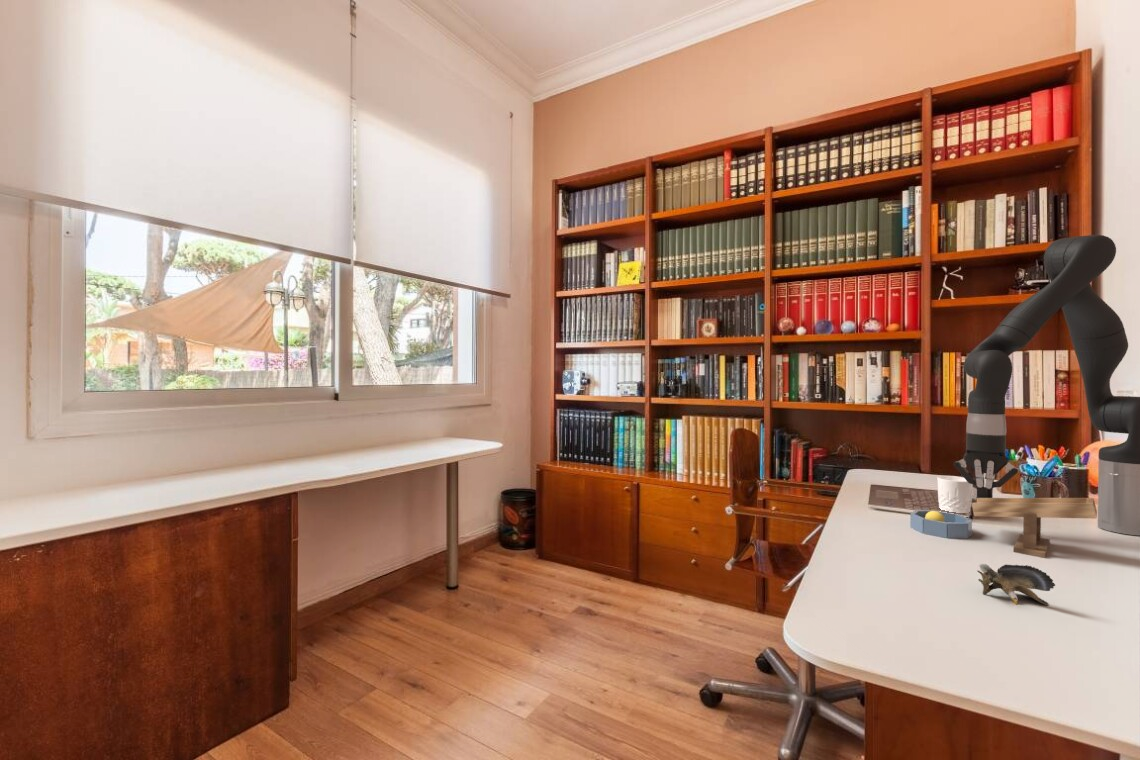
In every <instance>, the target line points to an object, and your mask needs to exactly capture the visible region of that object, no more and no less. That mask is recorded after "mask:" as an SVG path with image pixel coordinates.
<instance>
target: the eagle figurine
mask: <svg viewBox="0 0 1140 760" xmlns="http://www.w3.org/2000/svg"><path fill="white" fill-rule="evenodd" d="M978 565H979V566H978V567H979V569H980V570H976V572H978V573H979V574H980V576H981V578H979V579H977V580H978V582H979V583H981V584H982V587H983V589H982V595H987V594H989V593H991V592H992V591H993V590H997V589H1001V590H1002V591H1003V593H1005V594H1006V595H1007V596H1008V597H1009V598H1010V599H1011V600H1012V602H1013V604H1014V605H1018V602H1019V601H1018V595H1017V594H1016V593H1015V592H1019V593H1021V594H1023V595H1025V596H1028V597H1029V598H1032V599H1033V600H1035V601H1037V602H1039V603H1040V604H1042V605H1044V606H1049V605H1048V604H1049V602H1048V601H1045V600H1044V599H1042V598H1040V597H1039V596H1038V595H1037V594H1036V593H1035V592H1034V591H1033V590H1038V591H1044V592H1050V591H1051V589H1052V590H1053V589H1054V587H1056V584H1055V583H1054V579H1052V578H1051V576H1050V575H1048V574H1047V572H1045V571H1042V570H1040V569H1039V568H1036V567H1034V566H1032V565H1028V564H1027V565H1023V564H1022V565H1019V564H1014V565H1013V564H1004V565H1002V566H1000V567H998V568H997V571H995V569H992V567H990V566H989V564H987V563H980V564H978Z"/></svg>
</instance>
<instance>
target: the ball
mask: <svg viewBox="0 0 1140 760" xmlns="http://www.w3.org/2000/svg"><path fill="white" fill-rule="evenodd" d="M937 511H938V510H934V511H930V512H928V513H927V514H926V516H925V519H930V520H935V521H941V522H945V519H944V516H943V515H942V514H941V513H939V512H937Z"/></svg>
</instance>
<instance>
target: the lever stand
mask: <svg viewBox="0 0 1140 760" xmlns="http://www.w3.org/2000/svg"><path fill="white" fill-rule="evenodd" d="M1022 518H1023V523H1022V524H1023V532H1022V533H1023V534H1020V535H1019V537H1018V538H1017V540H1016V542H1015V544H1014V546H1013V548H1012V550H1013V553H1018V554H1023V555H1028V556H1033V557H1039V558H1044V559H1045V558H1046V556H1047V554H1048V551H1049V550H1048V549H1049V547H1050V544H1051V539H1048V538H1044V537H1041V535H1042V534H1041V532H1042V529H1041V528H1042V517H1037V514H1036V513H1031V512H1024V517H1022Z"/></svg>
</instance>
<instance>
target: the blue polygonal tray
mask: <svg viewBox="0 0 1140 760" xmlns="http://www.w3.org/2000/svg"><path fill="white" fill-rule="evenodd" d="M930 511H935V510H930V509H927V510H926V509H918V510H917V509H915V510H914V511H913V512H911V513H910V529H912V528H913V529H912V530H915V531H917V532H919V533H921V534H923V533H924V534H925V535H928V534H929V536H933V535H934V536H933V537H939V538H944V539H969V538H970V537H971V536H972V535H973V519H972V518H970V517H968V518H966V517H964V516H961V515H958V514H954V513H947V512H941V511H939V510H936V511H937V512H939V513H941V514H942V515H943V516H944V519H945V522H941V521H935V520H930V519H925V516H926V514H927V513H928V512H930Z"/></svg>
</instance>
